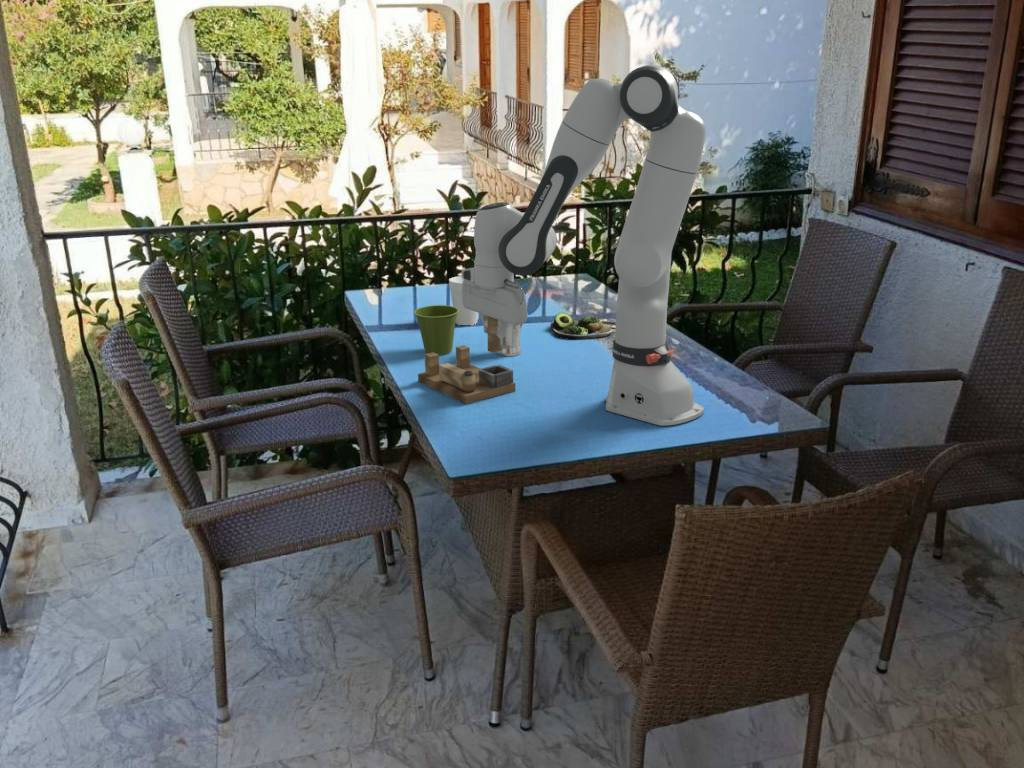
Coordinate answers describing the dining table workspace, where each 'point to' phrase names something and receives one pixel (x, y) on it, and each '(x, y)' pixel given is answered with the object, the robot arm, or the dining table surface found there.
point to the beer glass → (511, 341)
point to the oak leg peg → (493, 335)
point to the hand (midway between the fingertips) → (494, 335)
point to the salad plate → (579, 327)
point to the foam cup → (461, 303)
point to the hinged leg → (457, 377)
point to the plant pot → (437, 327)
